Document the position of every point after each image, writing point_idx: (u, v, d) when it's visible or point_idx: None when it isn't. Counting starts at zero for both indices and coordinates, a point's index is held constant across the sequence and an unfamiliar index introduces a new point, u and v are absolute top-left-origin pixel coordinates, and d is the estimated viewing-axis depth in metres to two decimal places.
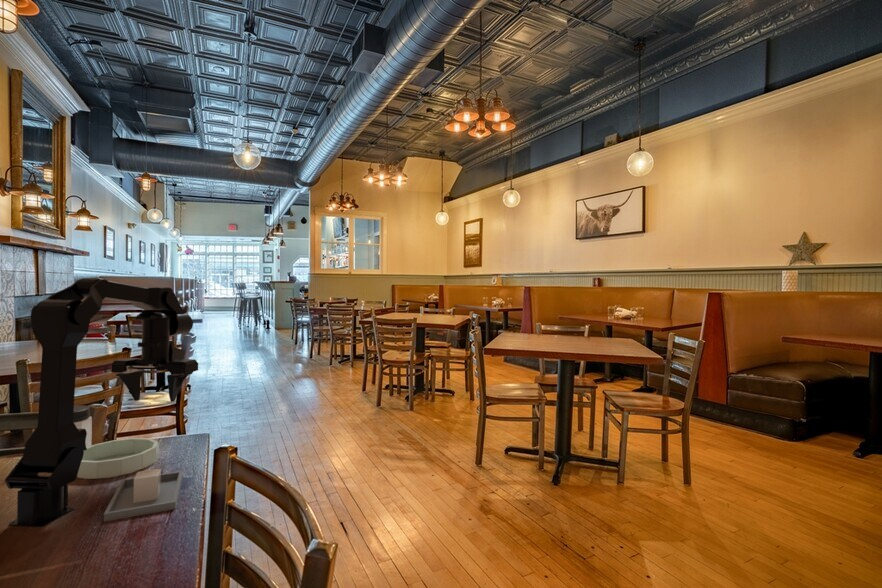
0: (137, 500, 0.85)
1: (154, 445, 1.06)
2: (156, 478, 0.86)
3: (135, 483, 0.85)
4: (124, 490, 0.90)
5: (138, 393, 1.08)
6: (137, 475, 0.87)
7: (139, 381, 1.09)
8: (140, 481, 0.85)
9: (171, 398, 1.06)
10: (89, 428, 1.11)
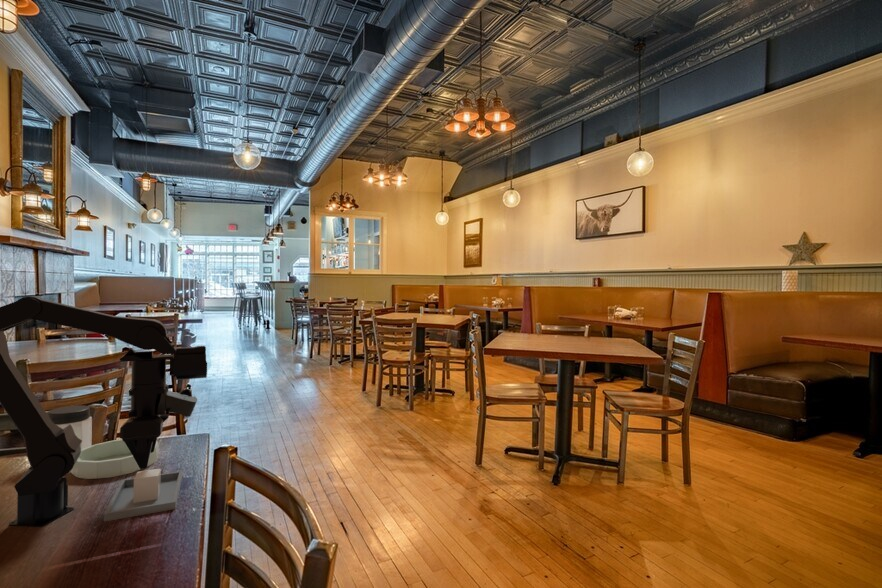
0: (137, 500, 0.85)
1: None
2: (156, 478, 0.86)
3: (135, 483, 0.85)
4: (124, 490, 0.90)
5: (151, 444, 0.92)
6: (137, 475, 0.87)
7: None
8: (140, 481, 0.85)
9: (138, 464, 0.83)
10: (89, 428, 1.11)
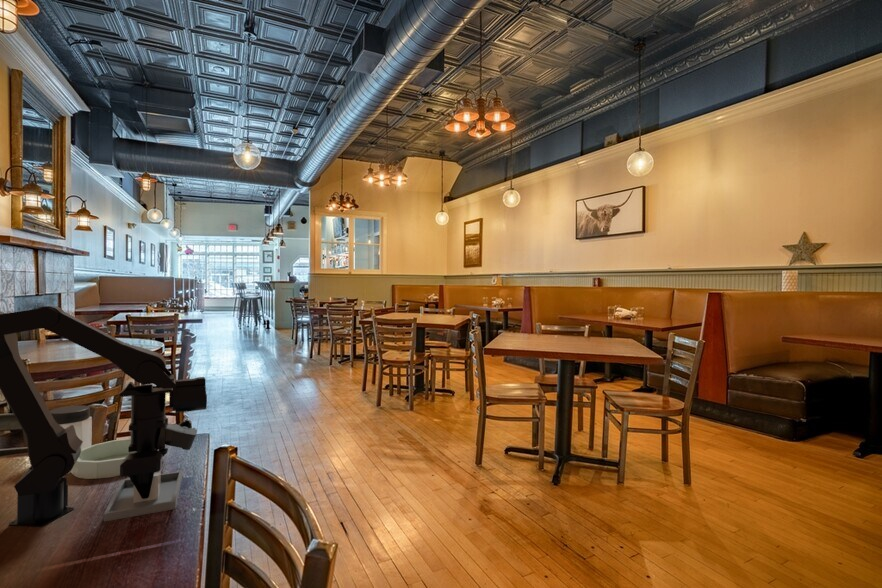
0: (137, 500, 0.85)
1: None
2: (156, 478, 0.86)
3: None
4: (124, 490, 0.90)
5: None
6: None
7: None
8: None
9: (140, 494, 0.85)
10: (89, 428, 1.11)
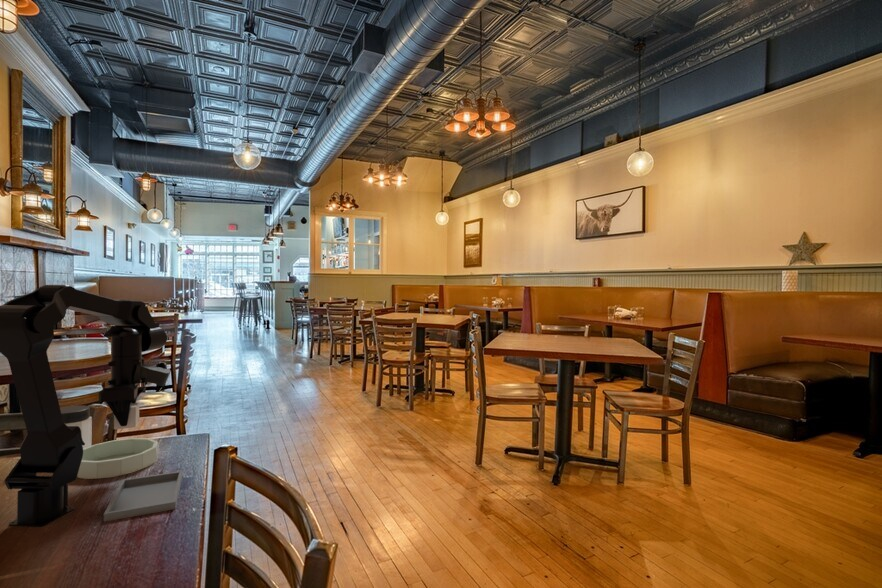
0: (117, 427, 0.98)
1: (154, 445, 1.06)
2: (134, 409, 0.99)
3: None
4: (124, 490, 0.90)
5: None
6: None
7: (133, 400, 1.02)
8: None
9: (119, 422, 0.97)
10: (89, 428, 1.11)
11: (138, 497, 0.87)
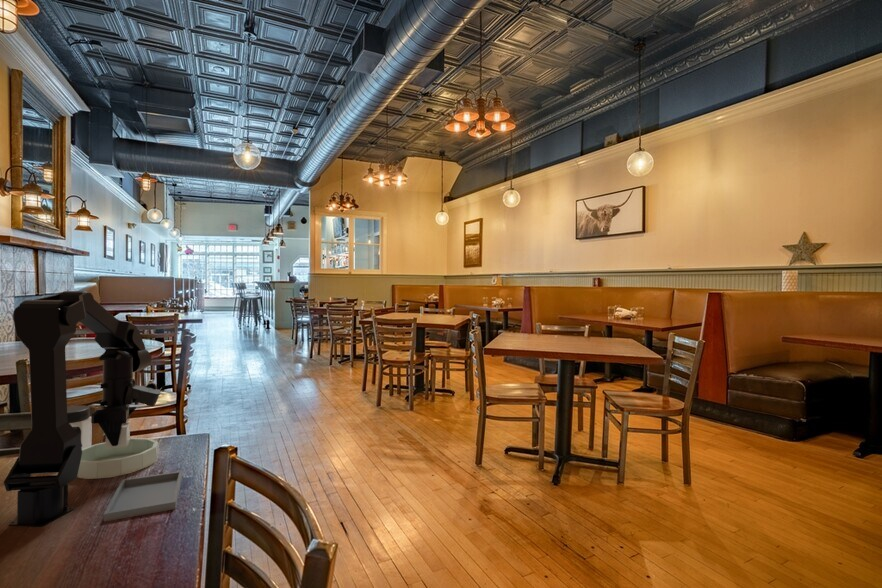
0: (108, 447, 1.01)
1: (154, 445, 1.06)
2: (125, 429, 1.03)
3: None
4: (124, 490, 0.90)
5: None
6: None
7: (124, 420, 1.06)
8: None
9: (110, 442, 1.01)
10: (89, 428, 1.11)
11: (138, 497, 0.87)
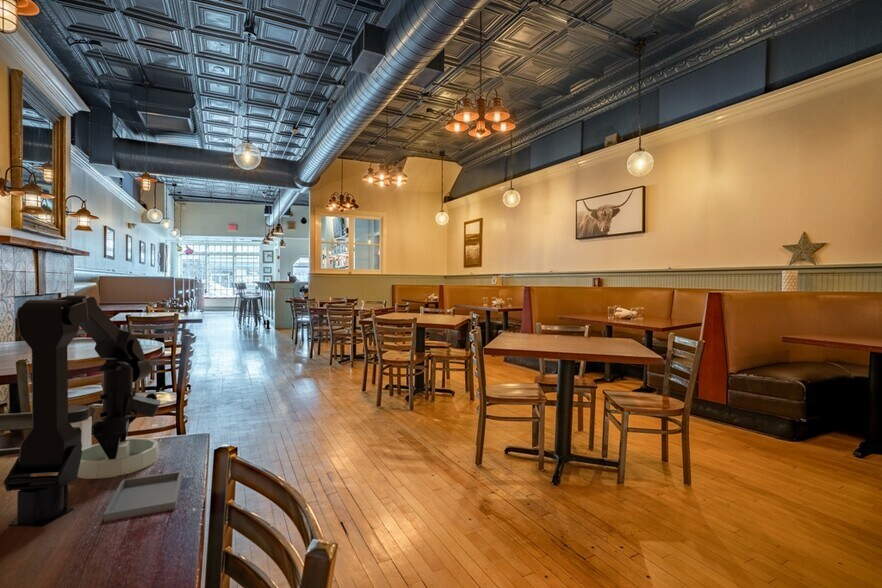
0: None
1: (154, 445, 1.06)
2: (125, 448, 1.03)
3: None
4: (124, 490, 0.90)
5: (121, 440, 1.08)
6: None
7: None
8: None
9: None
10: (89, 428, 1.11)
11: (138, 497, 0.87)
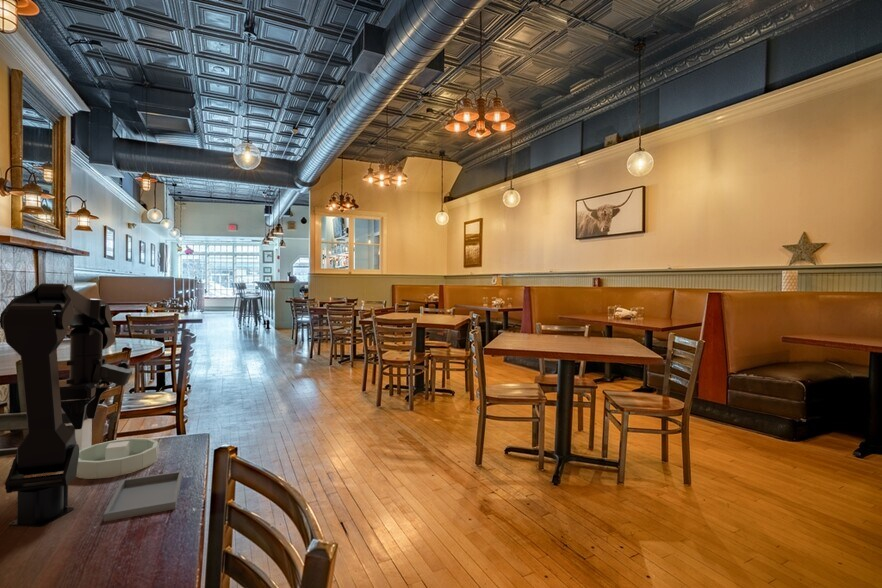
0: None
1: (154, 445, 1.06)
2: (125, 448, 1.03)
3: (106, 452, 1.01)
4: (124, 490, 0.90)
5: (92, 411, 1.03)
6: (108, 445, 1.03)
7: (97, 399, 1.04)
8: (111, 450, 1.01)
9: (73, 425, 0.94)
10: (89, 428, 1.11)
11: (138, 497, 0.87)
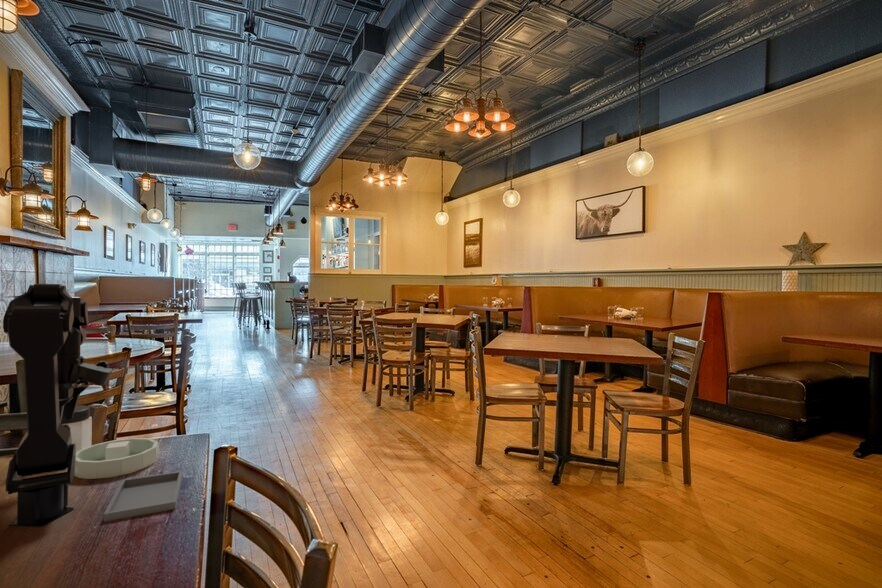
0: None
1: (154, 445, 1.06)
2: (125, 448, 1.03)
3: (106, 452, 1.01)
4: (124, 490, 0.90)
5: (70, 412, 1.00)
6: (108, 445, 1.03)
7: (74, 399, 1.01)
8: (111, 450, 1.01)
9: None
10: (89, 428, 1.11)
11: (138, 497, 0.87)
